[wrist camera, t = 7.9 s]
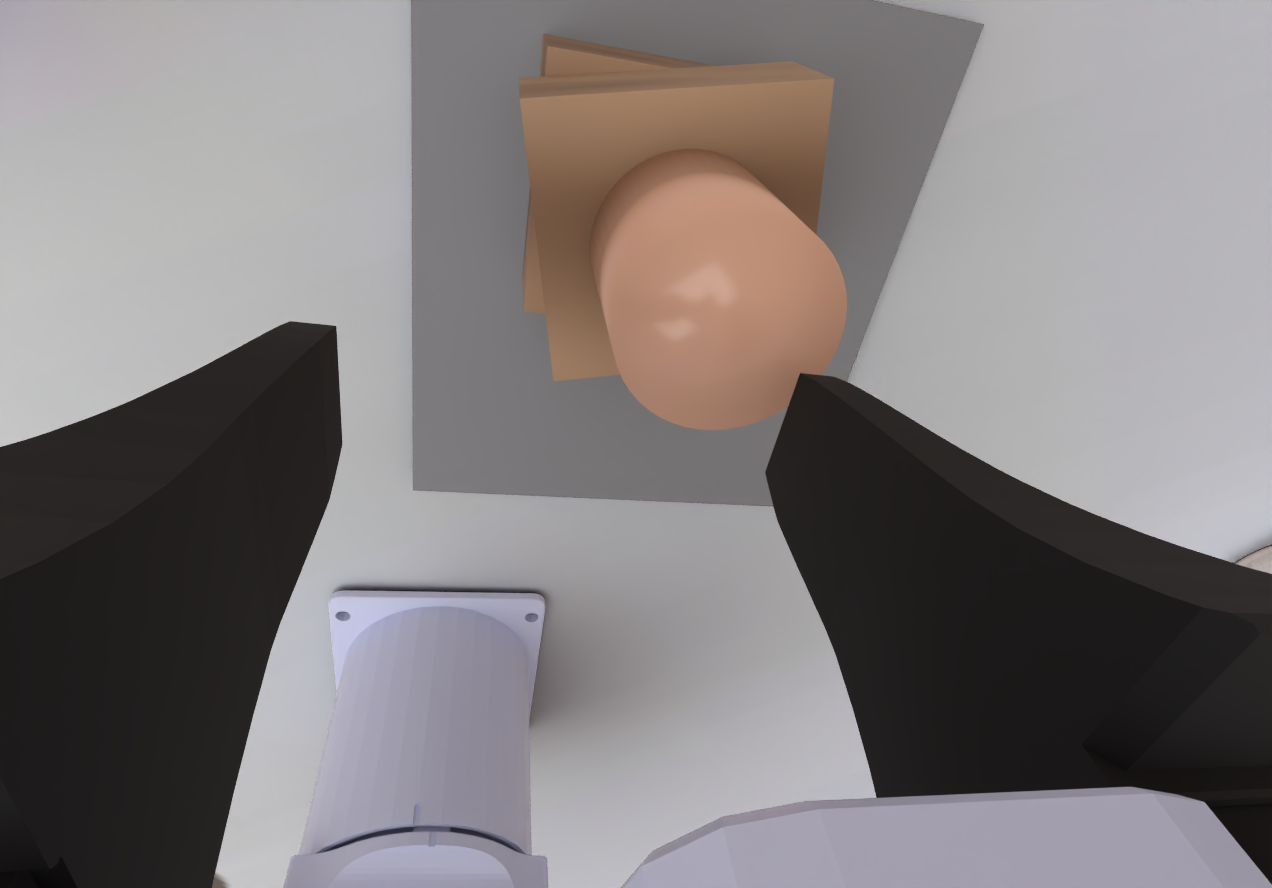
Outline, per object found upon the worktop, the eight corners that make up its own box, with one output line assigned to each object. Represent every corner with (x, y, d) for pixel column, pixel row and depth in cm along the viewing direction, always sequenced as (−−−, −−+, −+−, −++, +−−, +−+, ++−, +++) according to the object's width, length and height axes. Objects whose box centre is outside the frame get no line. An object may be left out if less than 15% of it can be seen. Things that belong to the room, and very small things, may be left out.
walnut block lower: (723, 296, 21) (745, 333, 19) (522, 274, 20) (523, 311, 18) (778, 77, 18) (812, 94, 16) (543, 34, 17) (547, 45, 15)
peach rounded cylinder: (753, 336, 16) (812, 431, 13) (583, 329, 16) (602, 428, 13) (795, 157, 14) (877, 219, 11) (598, 140, 14) (625, 200, 10)
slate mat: (794, 500, 27) (797, 507, 27) (414, 482, 24) (413, 490, 24) (975, 22, 18) (984, 24, 18) (413, -99, 15) (411, -100, 15)
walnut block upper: (771, 312, 19) (802, 355, 17) (549, 333, 18) (553, 381, 16) (792, 61, 16) (834, 78, 14) (518, 78, 15) (519, 99, 13)
